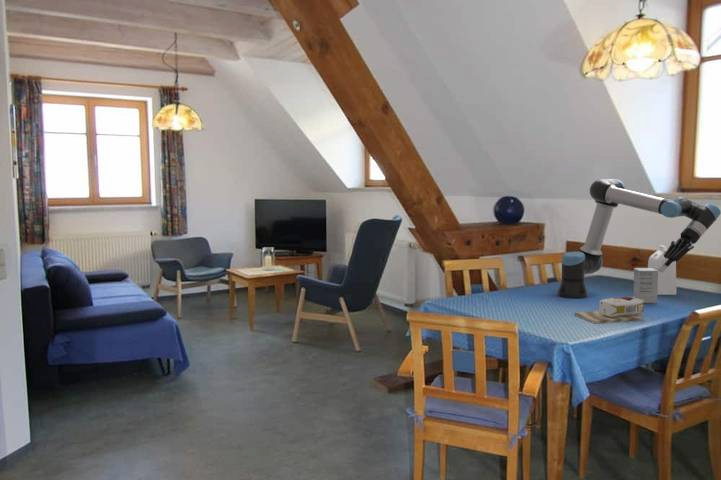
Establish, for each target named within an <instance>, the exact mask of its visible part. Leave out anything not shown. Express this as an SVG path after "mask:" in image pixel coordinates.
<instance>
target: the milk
mask: <svg viewBox="0 0 721 480" xmlns="http://www.w3.org/2000/svg"><path fill="white" fill-rule="evenodd" d="M666 251H667V246H666V245H662V244H659V246H658V250H656V251H655V252H654V253H652V254H651V255H650V256H649V258H648V261H647V268H653V269H655V270H657V271H658V289H657V296H658V295H661V296H662V295H663V296H670V295H671V296H677V261H674V262H672V263H671V264H670V265H669V266H668V267H667V268H666V270H665V271H664V272H663V273H662V272H660V271H659V270H658V269H657V268H658V267H659V265H660V264H661V263H662V262H663V261H664V259H665V257H664V254H665V253H666Z"/></svg>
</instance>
